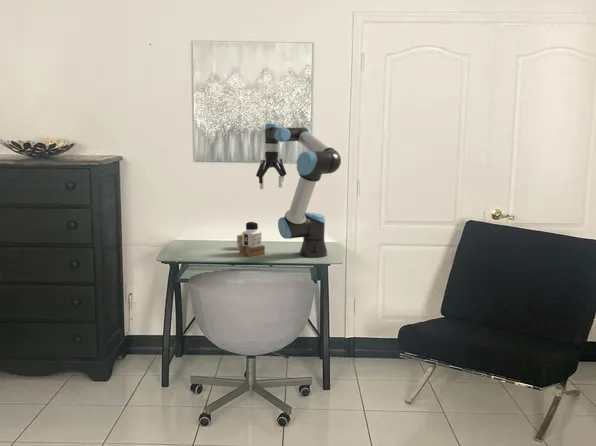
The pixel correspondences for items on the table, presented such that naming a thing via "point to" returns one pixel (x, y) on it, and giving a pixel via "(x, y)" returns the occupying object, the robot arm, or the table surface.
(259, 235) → the container
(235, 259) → the table surface
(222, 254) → the table surface
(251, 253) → the walnut block
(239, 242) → the maple block
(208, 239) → the table surface
